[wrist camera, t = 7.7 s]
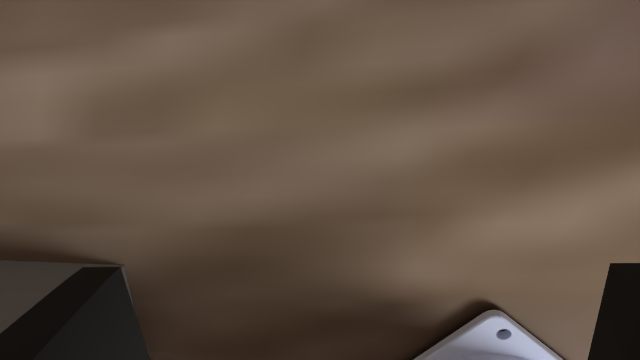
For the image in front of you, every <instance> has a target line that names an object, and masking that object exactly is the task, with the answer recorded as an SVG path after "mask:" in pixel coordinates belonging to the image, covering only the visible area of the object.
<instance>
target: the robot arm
mask: <svg viewBox="0 0 640 360" xmlns="http://www.w3.org/2000/svg"><path fill="white" fill-rule="evenodd" d="M502 329H507V330H506V331H499V330H502ZM0 360H150V358H149V355H148V352H147V349H146V345H145V342H144V339H143V336H142V333H141V330H140V326H139V323H138V320H137V317H136V314H135V311H134V308H133V304H132V301H131V298H130V295H129V292H128V289H127V286H126V282H125V279H124V276H123V273H122V270H121V267H82V268H81V269H80V270H78V271H77V272H76V273H74V274H73V275H71V276H70V277H69V278H68V279H66V280H65V281H64V282H62V283H61V284H60V285H59V286H57V287H56V288H55V289H54V290H53V291H51V292H50V293H49V294H48V295H46V296H45V297H44V298H43V299H41V300H40V301H39V302H38V303H37V304H35V305H34V306H33V307H32V308H31V309H29V310H28V311H27V312H26V313H25V314H23V315H22V316H21V317H20V318H18V319H17V320H16V321H15V322H14V323H12V324H11V325H10V326H9V327H8V328H6V329H5V330H4V331H3V332H1V333H0ZM413 360H563V359H562V358H561V357H559V356H558V355H557V354H556V353H554V352H553V351H552V350H551V349H549V348H548V347H547V346H545V345H544V344H543V343H542V342H540V341H539V340H538V339H537V338H535V337H534V336H533V335H531V334H530V333H529V332H528V331H526V330H525V329H524V328H523V327H521V326H520V325H519V324H517V323H516V322H515V321H514V320H512V319H511V318H510V317H509V316H507V315H506V314H505V313H503V312H501V311H499V310H488V311H486V312H484V313H482V314H481V315H479V316H478V317H476V318H475V319H473V320H472V321H470V322H469V323H467V324H466V325H464V326H463V327H461V328H460V329H458V330H457V331H455V332H454V333H452V334H451V335H449V336H448V337H446V338H445V339H443V340H442V341H440V342H439V343H437V344H436V345H434V346H433V347H431V348H430V349H428V350H427V351H425V352H424V353H422V354H421V355H419V356H418V357H416V358H415V359H413ZM588 360H640V263H610V267H609V271H608V275H607V279H606V284H605V288H604V292H603V296H602V301H601V305H600V309H599V314H598V318H597V322H596V326H595V331H594V335H593V339H592V343H591V348H590V352H589V356H588Z"/></svg>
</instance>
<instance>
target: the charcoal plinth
mask: <svg viewBox="0 0 640 360" xmlns="http://www.w3.org/2000/svg"><path fill="white" fill-rule="evenodd" d="M82 267H121V270H122V273H123V276H124V279H125V282H126V286H127V289H128V292H129V295H130V298H131V301H132V297H131V293H130V289H129V285H128V281H127V276H126V272H125V268H124V265H111V264H85V263H60V262H35V261H10V260H0V333H1V332H3V331H4V330H5V329H6V328H8V327H9V326H10V325H11V324H12V323H14V322H15V321H16V320H17V319H18V318H20V317H21V316H22V315H23V314H25V313H26V312H27V311H28V310H29V309H31V308H32V307H33V306H34V305H35V304H37V303H38V302H39V301H40V300H41V299H43V298H44V297H45V296H46V295H48V294H49V293H50V292H51V291H53V290H54V289H55V288H56V287H57V286H59V285H60V284H61V283H62V282H64V281H65V280H66V279H68V278H69V277H70V276H71V275H73V274H74V273H76V272H77V271H78V270H80V269H81V268H82ZM132 304H133V301H132ZM133 308H134V306H133ZM134 311H135V310H134Z"/></svg>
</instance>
